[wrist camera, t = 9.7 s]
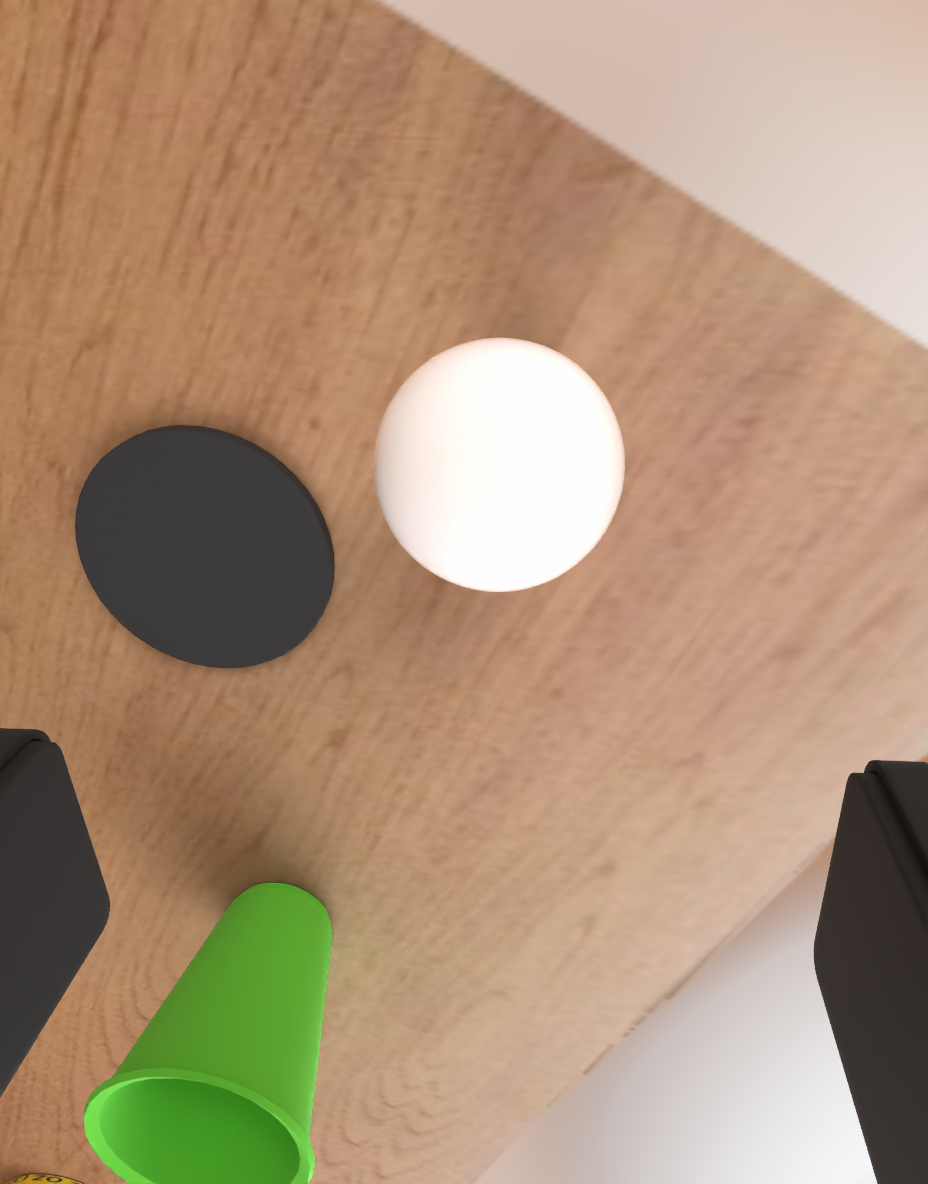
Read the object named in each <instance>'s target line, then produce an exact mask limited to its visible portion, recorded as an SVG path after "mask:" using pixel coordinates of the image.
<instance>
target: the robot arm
mask: <svg viewBox="0 0 928 1184" xmlns="http://www.w3.org/2000/svg"><path fill="white" fill-rule="evenodd" d="M109 911H110V900H109V895H108V892H107V889H106V886H105V883H104V880H103V877H102V873H101V870H100V867H99V864H98V861H97V858H96V855H95V852H94V849H93V846H92V843H91V840H90V836H89V833H88V830H87V827H86V824H85V821H84V818H83V815H82V812H81V809H80V806H79V803H78V800H77V796H76V793H75V790H74V787H73V784H72V781H71V778H70V775H69V772H68V769H67V766H66V763H65V760H64V756H63V753H62V751H61V749H60V747H59V746H58V745H57V744H56V743H53V742H51V741H50V739H49V737H48V736H47V735H46V734H45V733H44V732H43V731H40V730H33V729H6V728H0V1097H1V1095H2V1094H3V1092H4V1091H5V1089H6V1087H7V1086H8V1084H9V1082H10V1081H11V1079H12V1078H13V1076H14V1074H15V1073H16V1071H17V1069H18V1068H19V1066H20V1065H21V1063H22V1061H23V1060H24V1058H25V1056H26V1055H27V1053H28V1052H29V1050H30V1048H31V1047H32V1045H33V1043H34V1042H35V1040H36V1039H37V1037H38V1035H39V1034H40V1032H41V1030H42V1029H43V1027H44V1026H45V1024H46V1022H47V1021H48V1019H49V1017H50V1016H51V1014H52V1013H53V1011H54V1009H55V1008H56V1006H57V1004H58V1003H59V1001H60V999H61V998H62V996H63V995H64V993H65V991H66V990H67V988H68V986H69V985H70V983H71V982H72V980H73V978H74V977H75V975H76V973H77V972H78V970H79V969H80V967H81V965H82V964H83V962H84V960H85V959H86V957H87V956H88V954H89V952H90V951H91V949H92V947H93V946H94V944H95V943H96V941H97V939H98V938H99V936H100V934H101V933H102V931H103V929H104V927H105V925H106V923H107V920H108V917H109ZM814 964H815V970H816V975H817V979H818V983H819V986H820V990H821V993H822V996H823V999H824V1003H825V1007H826V1010H827V1013H828V1017H829V1020H830V1024H831V1027H832V1030H833V1034H834V1037H835V1040H836V1044H837V1047H838V1050H839V1054H840V1057H841V1061H842V1064H843V1068H844V1071H845V1074H846V1078H847V1081H848V1084H849V1088H850V1092H851V1095H852V1098H853V1101H854V1105H855V1108H856V1112H857V1115H858V1118H859V1122H860V1125H861V1129H862V1132H863V1136H864V1139H865V1143H866V1146H867V1149H868V1153H869V1156H870V1159H871V1163H872V1166H873V1170H874V1173H875V1177H876V1180H877V1183H878V1184H928V763H926V762H909V761H881V760H873V761H870V762H869V763H868V764H867V766H866V768H865V771H864V773H852V774H850V776H849V777H848V780H847V784H846V789H845V794H844V798H843V803H842V808H841V813H840V818H839V823H838V828H837V833H836V838H835V843H834V848H833V853H832V857H831V862H830V867H829V872H828V877H827V882H826V887H825V892H824V897H823V902H822V907H821V912H820V917H819V921H818V926H817V931H816V936H815V942H814Z"/></svg>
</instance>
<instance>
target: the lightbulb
mask: <svg viewBox="0 0 928 1184" xmlns="http://www.w3.org/2000/svg"><path fill="white" fill-rule="evenodd" d="M373 472H374V483H375V489H376V494H377V498H378V502H379V505H380V508H381V511H382V513H383V516H384V518H385V520H386V522H387V524H388V526H389V528H390V530H391V531H392V533H393V534H394V536H395V537H396V539H397V540H398V542H399V543H400V544H401V545H402V547H403V548H404V549H405V550H406V551H407V552H408V553H409V554H410V555H411V556H412V557H413V558H414V559H415V560H416V561H417V562H418V563H419V564H421V565H422V566H423V567H425V568H426V569H427V570H429V571H430V572H432V573H433V574H435V575H437V576H439V577H440V578H442V579H444V580H446V581H449V582H451V583H454V584H456V585H459V586H462V587H466V588H470V589H474V590H480V591H488V592H509V591H517V590H523V589H528V588H531V587H535V586H538V585H541V584H544V583H546V582H548V581H551V580H553V579H555V578H557V577H558V576H560V575H562V574H564V573H565V572H567V571H568V570H570V569H571V568H572V567H574V566H575V565H576V564H578V563H579V562H580V561H581V560H582V559H583V558H584V557H586V556H587V555H588V554H589V553H590V551H591V550H592V549H593V548H594V547H595V546H596V545H597V543H598V542H599V541H600V539H601V538H602V536H603V535H604V533H605V532H606V530H607V528H608V527H609V525H610V523H611V521H612V519H613V517H614V514H615V512H616V510H617V507H618V504H619V501H620V497H621V493H622V489H623V484H624V476H625V452H624V444H623V439H622V434H621V430H620V427H619V424H618V421H617V418H616V416H615V413H614V411H613V409H612V407H611V405H610V403H609V401H608V399H607V398H606V396H605V395H604V393H603V392H602V390H601V389H600V388H599V386H598V385H597V384H596V382H595V381H594V380H593V379H592V378H591V377H590V376H589V375H588V374H587V373H586V372H585V371H584V370H583V369H582V368H581V367H580V366H578V365H577V364H576V363H575V362H573V361H572V360H570V359H569V358H567V357H566V356H564V355H562V354H561V353H559V352H557V351H555V350H553V349H551V348H548V347H546V346H543V345H541V344H538V343H534V342H531V341H526V340H521V339H514V338H485V339H479V340H473V341H469V342H466V343H462V344H459V345H456V346H454V347H451V348H449V349H447V350H445V351H443V352H441V353H439V354H437V355H436V356H434V357H432V358H431V359H429V360H428V361H426V362H425V363H424V364H423V365H421V366H420V367H419V368H418V369H417V370H415V371H414V372H413V373H412V374H411V375H410V376H409V377H408V378H407V379H406V381H405V382H404V383H403V384H402V385H401V387H400V388H399V389H398V391H397V392H396V393H395V395H394V397H393V398H392V400H391V402H390V403H389V405H388V407H387V409H386V411H385V413H384V416H383V418H382V421H381V424H380V427H379V430H378V434H377V438H376V443H375V449H374V461H373Z"/></svg>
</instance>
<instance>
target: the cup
mask: <svg viewBox="0 0 928 1184" xmlns="http://www.w3.org/2000/svg"><path fill="white" fill-rule="evenodd" d="M332 936H333V932H332V926H331V923H330V917H329V915H328V913H327V911H326V909H325V907H324V906H323V905H322V904H321V903H320V901H319V900H318V899H316V898H315V897H314V896H312V895H311V894H310V893H308V892H306V891H304V890H302V889H300V888H298V887H295V886H292V885H288V884H283V883H262V884H258V885H255V886H252V887H251V888H249V889H247V890H245V891H244V892H243V893H242V894H240V895H239V896H238V897H237V898H236V899H235V900H234V901H233V902H232V903H231V904H230V906H229V907H228V909H227V910H226V912H225V913H224V915H223V916H222V918H221V919H220V921H219V922H218V923H217V925H216V926H215V928H214V929H213V931H212V932H211V934H210V935H209V937H208V938H207V940H206V941H205V942H204V944H203V945H202V947H201V948H200V950H199V951H198V953H197V954H196V956H195V957H194V959H193V960H192V961H191V963H190V964H189V966H188V967H187V969H186V970H185V972H184V973H183V975H182V976H181V978H180V979H179V981H178V982H177V983H176V985H175V986H174V988H173V989H172V991H171V992H170V994H169V995H168V997H167V998H166V1000H165V1001H164V1002H163V1004H162V1005H161V1007H160V1008H159V1010H158V1011H157V1013H156V1014H155V1016H154V1017H153V1019H152V1020H151V1022H150V1023H149V1024H148V1026H147V1027H146V1029H145V1030H144V1032H143V1033H142V1035H141V1036H140V1038H139V1039H138V1041H137V1042H136V1043H135V1045H134V1046H133V1048H132V1049H131V1051H130V1052H129V1054H128V1055H127V1057H126V1058H125V1060H124V1061H123V1062H122V1064H121V1065H120V1067H119V1068H118V1070H117V1071H116V1073H115V1074H114V1076H113V1077H112V1078H111V1079H109V1080H107V1081H104V1082H103V1083H102V1084H101V1085H100V1086H98V1087H97V1088H96V1089H95V1090H94V1091H93V1092H92V1093H91V1094H90V1096H89V1099H88V1101H87V1104H86V1106H85V1109H84V1123H85V1134H86V1136H87V1138H88V1140H89V1143H90V1145H91V1147H92V1149H93V1150H94V1152H95V1153H96V1154H97V1155H98V1156H99V1158H100V1159H101V1160H102V1161H103V1163H104V1164H105V1165H106V1166H107V1167H109V1168H110V1169H111V1170H112V1171H113V1172H115V1173H116V1174H117V1175H118V1176H119V1177H121V1178H122V1179H123V1180H125V1181H126V1182H128V1183H130V1184H307V1183H308V1182H309V1180H310V1179H311V1177H312V1176H313V1170H314V1164H315V1158H314V1154H313V1150H312V1146H311V1143H310V1141H309V1136H310V1127H311V1118H312V1110H313V1101H314V1092H315V1084H316V1075H317V1066H318V1057H319V1049H320V1040H321V1031H322V1023H323V1014H324V1005H325V997H326V988H327V979H328V970H329V962H330V953H331V944H332Z"/></svg>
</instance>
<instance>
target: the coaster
mask: <svg viewBox="0 0 928 1184" xmlns="http://www.w3.org/2000/svg"><path fill="white" fill-rule="evenodd" d="M75 529H76V542H77V546H78V551H79V556H80V559H81V562H82V565H83V568H84V570H85V573H86V575H87V577H88V579H89V581H90V583H91V585H92V587H93V589H94V590H95V592H96V593H97V595H98V597H99V598H100V600H101V601H102V602H103V604H104V605H105V606H106V607H107V609H108V610H109V611H110V612H111V614H112V615H113V616H114V617H115V618H116V619H117V620H118V621H119V622H120V623H121V624H122V625H123V626H124V627H126V628H127V629H128V630H129V631H131V632H132V633H133V634H134V635H135V636H137V637H138V638H140V639H141V640H143V641H144V642H146V643H147V644H149V645H150V646H152V647H154V648H156V649H158V650H159V651H161V652H163V653H165V654H168V655H170V656H172V657H175V658H177V659H180V660H183V661H186V662H190V663H193V664H198V665H203V666H208V667H218V668H240V667H247V666H253V665H257V664H261V663H264V662H268V661H270V660H273V659H275V658H277V657H279V656H282V655H284V654H285V653H287V652H288V651H290V650H291V649H293V648H295V647H296V646H297V645H298V644H299V643H300V642H302V641H303V640H304V639H305V638H306V637H307V636H308V634H309V633H310V632H311V631H312V630H313V629H314V627H315V626H316V624H317V622H318V621H319V619H320V617H321V616H322V614H323V612H324V610H325V608H326V605H327V603H328V600H329V598H330V594H331V590H332V586H333V580H334V552H333V547H332V542H331V537H330V534H329V531H328V528H327V525H326V522H325V520H324V518H323V516H322V514H321V511H320V509H319V507H318V505H317V504H316V502H315V501H314V499H313V498H312V496H311V494H310V493H309V491H308V490H307V489H306V488H305V486H304V485H303V484H302V483H301V481H300V480H299V479H298V478H297V477H296V476H295V475H294V474H293V473H292V472H291V471H290V470H289V469H288V468H287V467H286V466H285V465H284V464H283V463H282V462H280V461H279V460H278V459H276V458H275V457H274V456H272V455H271V454H270V453H268V452H267V451H265V450H263V449H262V448H260V447H258V446H257V445H255V444H253V443H252V442H249V441H247V440H245V439H243V438H240V437H238V436H236V435H233V434H230V433H227V432H223V431H220V430H217V429H212V428H206V427H201V426H185V425H180V426H168V427H161V428H157V429H153V430H148V431H146V432H143V433H141V434H138V435H136V436H133V437H131V438H130V439H128V440H126V441H125V442H123V443H121V444H120V445H118V446H117V447H115V448H114V449H112V450H111V451H110V452H109V453H108V454H107V455H105V456H104V457H103V458H102V459H101V460H100V461H99V463H98V464H97V465H96V466H95V467H94V468H93V470H92V471H91V473H90V475H89V476H88V478H87V480H86V481H85V484H84V486H83V489H82V491H81V494H80V497H79V501H78V506H77V510H76V523H75Z"/></svg>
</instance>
